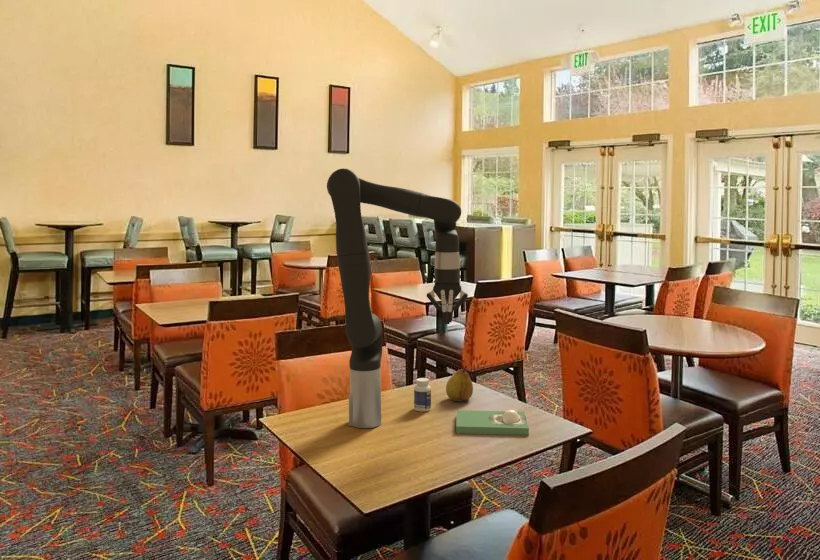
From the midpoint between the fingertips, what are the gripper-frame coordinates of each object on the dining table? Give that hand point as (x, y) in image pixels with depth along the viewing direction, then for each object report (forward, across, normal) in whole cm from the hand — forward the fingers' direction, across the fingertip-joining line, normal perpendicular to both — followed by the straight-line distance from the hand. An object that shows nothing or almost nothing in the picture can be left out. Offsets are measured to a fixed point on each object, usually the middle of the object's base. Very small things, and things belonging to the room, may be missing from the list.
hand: (447, 323), depth 191 cm
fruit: (+29, +4, +16) cm, 34 cm away
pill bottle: (+29, -8, +6) cm, 31 cm away
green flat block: (+29, +13, -7) cm, 33 cm away
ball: (+27, +19, -7) cm, 33 cm away
